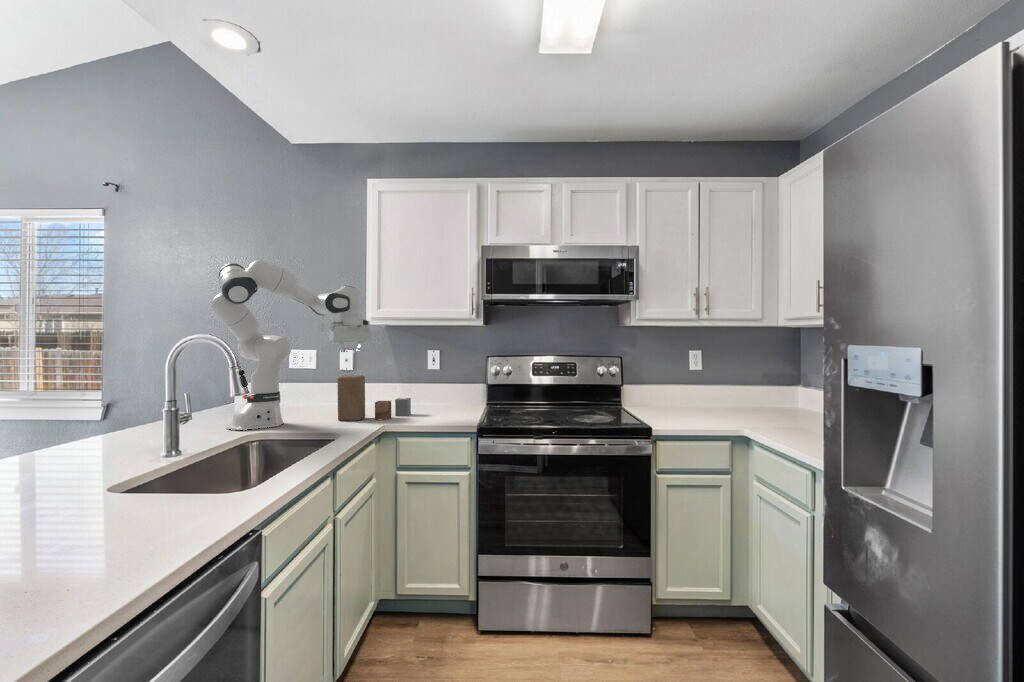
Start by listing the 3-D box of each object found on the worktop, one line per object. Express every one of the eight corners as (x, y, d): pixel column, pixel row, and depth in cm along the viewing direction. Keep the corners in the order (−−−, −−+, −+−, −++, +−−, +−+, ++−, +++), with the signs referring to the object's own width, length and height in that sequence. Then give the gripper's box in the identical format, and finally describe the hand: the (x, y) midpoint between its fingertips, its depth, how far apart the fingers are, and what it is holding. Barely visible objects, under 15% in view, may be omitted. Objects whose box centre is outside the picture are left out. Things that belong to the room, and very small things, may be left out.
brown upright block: (387, 419, 237) (387, 401, 237) (374, 419, 237) (374, 401, 237) (391, 417, 243) (391, 400, 243) (378, 417, 243) (378, 400, 243)
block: (359, 421, 233) (358, 377, 233) (337, 421, 233) (336, 377, 233) (365, 417, 243) (365, 375, 243) (344, 417, 243) (344, 375, 243)
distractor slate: (407, 416, 246) (407, 399, 246) (395, 416, 247) (395, 399, 247) (410, 414, 252) (410, 397, 252) (398, 414, 253) (398, 397, 253)
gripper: (334, 321, 227) (335, 352, 227) (372, 321, 243) (373, 351, 244) (326, 321, 231) (326, 352, 231) (364, 322, 247) (364, 350, 247)
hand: (350, 351), depth 238 cm, fingers open, 7 cm apart
